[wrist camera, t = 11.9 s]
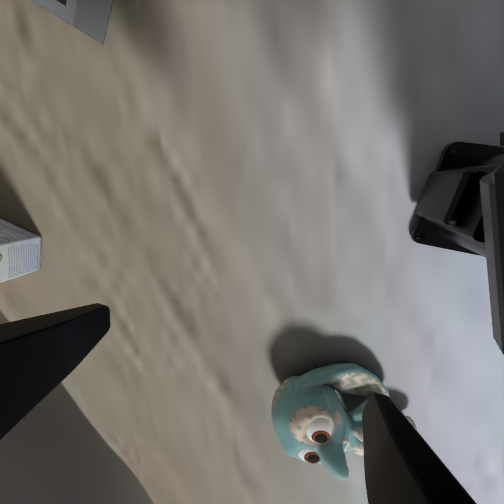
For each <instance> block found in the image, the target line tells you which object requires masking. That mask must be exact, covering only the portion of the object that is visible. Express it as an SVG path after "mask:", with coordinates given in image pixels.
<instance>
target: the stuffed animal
mask: <svg viewBox="0 0 504 504" xmlns="http://www.w3.org/2000/svg"><path fill="white" fill-rule="evenodd" d="M333 388H334V389H336V390H337V391H339V392H340V393H347V394H356V395H364V396H370V394H371V392H373V391H376V392H379V393H382V394H385V395H387V396H389V392H388V390H387V388H386V387H385V386H384V385H383V383H382V382H381V381H380V380H379V378H378V377H377V376H375V375H374V374H373V373H371V372H369V371H368V370H366V369H364V368H362V367H360V366H358V365H356V364H355V363H342V364H339V363H335V364H331V365H328V366H324V367H320V368H315V369H313V370H311V371H309V372H307V373H305V374H303V375H302V376H290V377H289V378H288V379H286V380H285V381H284V382H282V383H281V384H280V386H279V387H278V389H277V390H276V392H275V394H274V397H273V401H272V420H273V425H274V429H275V431H276V433H277V435H278V437H279V439H280V441H281V443H282V445H283V447H284V449H285V452H286V453H287V454H288V455H289V456H295V457H296V458H298V459H300V460H303V461H305V462H308V463H316V464H323V466H324V467H325V468H326V469H327V470H328V471H329V472H330V473H331V474H332V475H333V476H334V477H337V478H339V479H341V480H347V478H348V474H349V469H348V467H347V463H346V458H345V454H348V453H351V452H355V453H356V454H357V455H358V456H359V455H364V449H363V430H362V413H363V410H364V407H365V405H366V403H367V400H368V399H367V400H366V401H365V402H363V403H362V404H361V405H360V406H359V407H358V408H357V409H353V410H350V411H345V410H344V408H343V406H342V404H341V402H340V400H339V398H338V396H337V394H336V392H335V391H334V389H333ZM389 397H390V396H389ZM404 416H405V415H404ZM405 417H406V418H407V419H408V420H409V422H410V423H411V424H412V425H413V427H414V428H415V429H416V426H415V423H414V421H413V420H412V419H411V417H409V416H405ZM416 430H417V429H416Z"/></svg>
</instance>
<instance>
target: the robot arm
mask: <svg viewBox="0 0 504 504" xmlns="http://www.w3.org/2000/svg"><path fill="white" fill-rule="evenodd" d="M500 146H504V131H503V132H500ZM453 147H456V149H457V152H456V154H454V155H452V154H451V149H452V148H453ZM416 213H417V215H418V217H417V220H416V222H415V225H414V228H413V230H412V233H411V238H412V240H413V241H415V242H417V243H420V244H425V245H430V246H435V247H440V248H445V249H450V250H455V251H460V252H465V253H470V254H475V255H480V256H484V257H486V259H487V270H488V281H489V292H490V304H491V315H492V326H493V337H494V339H495V341H496V342H497V344H498V346H499V348H500V350H501V351H502V353H503V354H504V147H498V146H490V145H482V144H474V143H466V142H453V143H450V144H448V145H447V146H446V147H445V148H444V150H443V152H442V155H441V157H440V160H439V163H438V165H437V168H436V170H435V172H433V173H431V174H430V175H429V177H428V180H427V182H426V185H425V188H424V190H423V193H422V196H421V198H420V201H419V203H418V206H417V209H416ZM419 233H423V236H422V238H420V239H418V238H417V235H418V234H419ZM109 328H110V309H109V307H108V306H106V305H103V304H99V303H96V304H91V305H86V306H82V307H77V308H73V309H68V310H63V311H59V312H54V313H50V314H45V315H40V316H36V317H31V318H27V319H22V320H18V321H13V322H8V323H4V324H0V440H1V439H2V438H3V437H4V436H5V435H6V434H7V433H8V432H9V431H10V430H11V429H13V427H15V426H16V425H17V424H18V423H19V422H20V421H21V420H22V419H23V418H24V417H25V416H26V415H27V414H28V413H29V412H30V411H31V410H32V409H33V408H34V407H35V406H37V405H38V404H39V403H40V402H41V401H42V400H43V399H44V398H45V397H46V396H47V395H48V394H49V393H50V392H51V391H52V390H53V389H54V388H55V387H56V386H57V385H58V384H60V383H61V382H62V381H63V380H64V379H65V378H66V377H67V376H68V375H69V374H70V373H71V372H72V371H73V370H74V369H75V368H76V367H77V366H78V365H79V364H80V362H81V361H82V360H83V359H84V358H85V357H86V356H87V355H88V353H89V352H90V351H91V350H92V349H93V348H94V347H95V346H96V344H97V343H98V342H99V341H100V340H101V339H102V338H103V337H104V336H105V334H106V333H107V332H108V330H109ZM362 430H363V449H364V467H365V481H366V489H367V497H368V503H369V504H476V502H475V501H474V500H473V499H472V498H471V496H470V495H469V494H468V493H467V491H466V490H465V489H464V488H463V487H462V485H461V484H460V483H459V482H458V480H457V479H456V478H455V477H454V476H453V474H452V473H451V472H450V471H449V469H448V468H447V467H446V466H445V465H444V463H443V462H442V461H441V460H440V458H439V457H438V456H437V455H436V454H435V452H434V451H433V450H432V449H431V447H430V446H429V445H428V444H427V443H426V441H425V440H424V439H423V438H422V436H421V435H420V434H419V433H418V432H417V430H416V429H415V428H414V427H413V425H412V424H411V423H410V422H409V420H408V419H407V418H406V417H405V416H404V414H403V413H402V412H401V411H400V409H399V408H398V407H397V406H396V405H395V403H394V402H393V401H392V400H391V398H390V397H389V396H387V395H385V394H382V393H379V392H376V391H373V392H371V394H370V396H369V398H368V400H367V403H366V405H365V407H364V410H363V413H362Z"/></svg>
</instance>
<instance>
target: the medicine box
mask: <svg viewBox="0 0 504 504" xmlns="http://www.w3.org/2000/svg"><path fill="white" fill-rule="evenodd" d="M40 263H41V237H40V236H38V235H36V234H33V233H31V232H29V231H27V230H25V229H22V228H20V227H18V226H16V225H14V224H12V223H10V222H7V221H5V220H3V219H1V218H0V282H4V281H7V280H10V279H13V278H16V277H19V276H22V275H25V274H28V273H32V272H35V271H37V270H39V268H40Z"/></svg>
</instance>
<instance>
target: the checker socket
mask: <svg viewBox="0 0 504 504" xmlns="http://www.w3.org/2000/svg"><path fill="white" fill-rule="evenodd" d="M31 1H33V2H35V3H36V4H38V5H40V6H41V7H43V8H44V9H46V10H48V11H49V12H51V13H53V14H54V15H56V16H58V17H59V18H61V19H62V20H64V21H66V22H67V23H69V24H71V25H72V26H74V27H75V28H77V29H79V30H80V31H82V32H84V33H85V34H87V35H89V36H90V37H92V38H93V39H95V40H97V41H98V42H100V43H102V44H103V41H104V37H105V33H106V28H107V24H108V19H109V15H110V11H111V6H112V2H113V0H67V2H66V6H65V5H63V4H62V3H60V2H58V1H57V0H31Z"/></svg>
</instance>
